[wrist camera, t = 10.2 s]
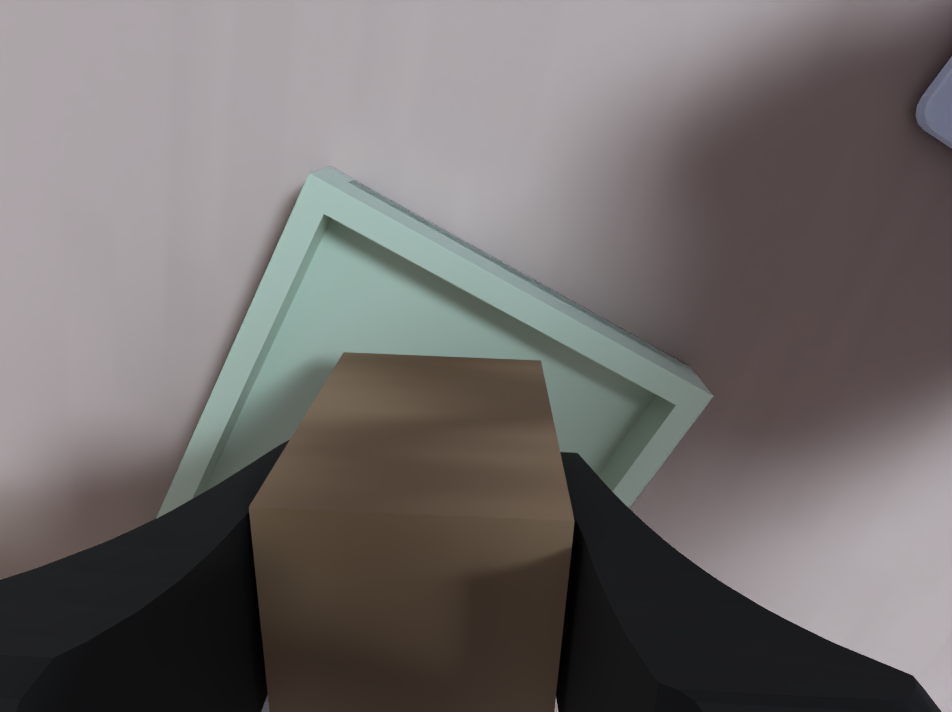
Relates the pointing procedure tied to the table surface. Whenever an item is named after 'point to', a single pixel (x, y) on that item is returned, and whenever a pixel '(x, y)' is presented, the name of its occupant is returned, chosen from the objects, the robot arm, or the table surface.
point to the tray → (426, 341)
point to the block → (416, 541)
